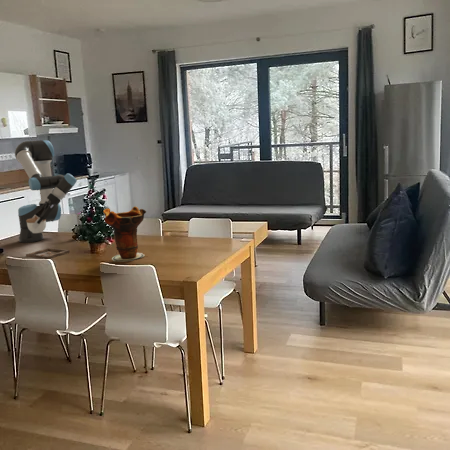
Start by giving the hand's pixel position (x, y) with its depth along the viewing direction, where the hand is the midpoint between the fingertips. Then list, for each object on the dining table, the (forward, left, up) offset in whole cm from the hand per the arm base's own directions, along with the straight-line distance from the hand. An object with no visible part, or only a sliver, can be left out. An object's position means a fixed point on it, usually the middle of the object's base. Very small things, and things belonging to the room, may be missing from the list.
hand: (31, 226), depth 287 cm
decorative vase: (-12, +62, -16) cm, 65 cm away
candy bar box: (-47, -6, -16) cm, 50 cm away
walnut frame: (-1, +11, -16) cm, 19 cm away
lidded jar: (-3, +1, -4) cm, 5 cm away
